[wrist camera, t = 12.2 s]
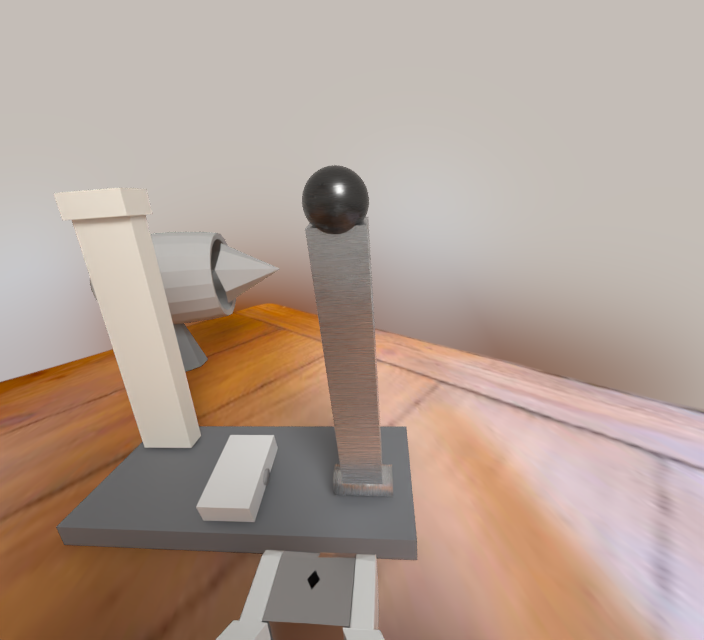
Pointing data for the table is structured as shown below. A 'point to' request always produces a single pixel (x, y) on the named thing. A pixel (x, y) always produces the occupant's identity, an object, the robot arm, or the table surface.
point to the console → (275, 508)
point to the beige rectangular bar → (134, 309)
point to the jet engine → (202, 282)
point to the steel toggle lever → (347, 325)
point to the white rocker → (239, 479)
